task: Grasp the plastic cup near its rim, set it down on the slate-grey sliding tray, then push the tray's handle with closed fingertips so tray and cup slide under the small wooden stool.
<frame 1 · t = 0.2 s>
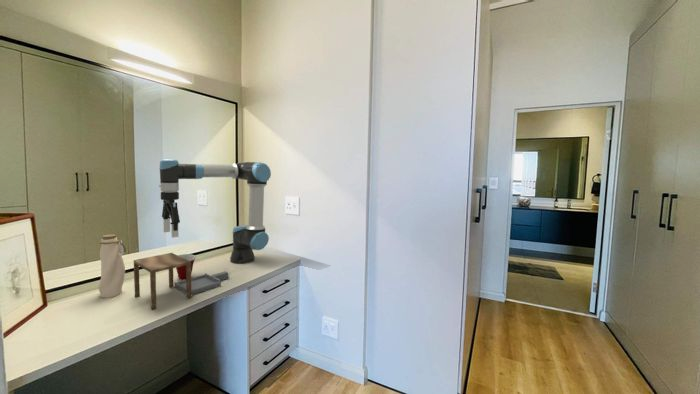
hand: (170, 234, 141), 27 cm above the table, fingers open, 13 cm apart
water bottle: (113, 293, 136), on the table
plastic cup: (185, 278, 157), on the table
tray: (205, 280, 150), point 2 cm above the table, slide at 0.0 cm
small wooden stool: (163, 297, 134), on the table
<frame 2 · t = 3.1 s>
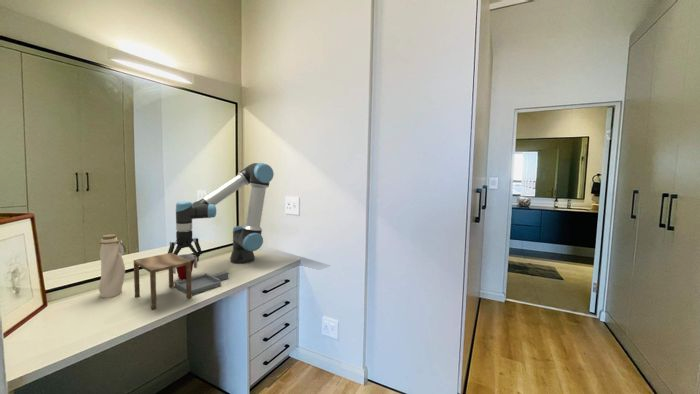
hand: (184, 270, 157), 4 cm above the table, fingers closed on plastic cup, 11 cm apart
plastic cup: (185, 278, 157), on the table, touching gripper
everything else where it was.
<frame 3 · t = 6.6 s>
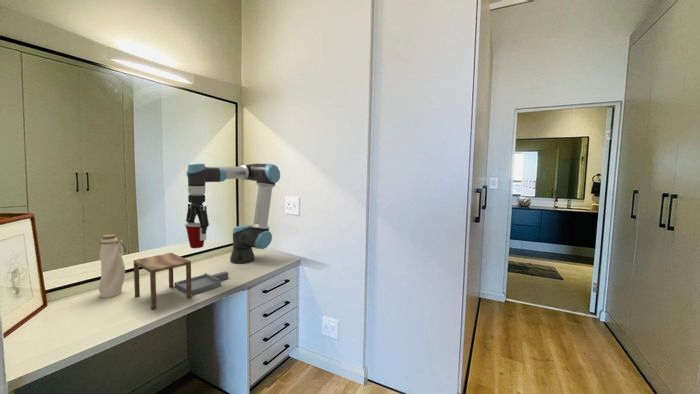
hand: (197, 238, 145), 25 cm above the table, fingers closed on plastic cup, 10 cm apart
plastic cup: (197, 247, 145), point 21 cm above the table, touching gripper
everything else where it was.
when the fingers open (7 cm above the table, at t = 9.9 s): plastic cup drops 1 cm, resting on tray.
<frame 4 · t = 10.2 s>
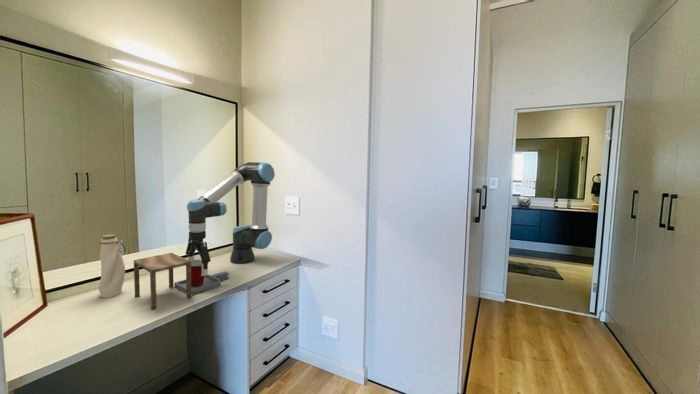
hand: (197, 271, 146), 8 cm above the table, fingers open, 13 cm apart
plastic cup: (197, 284, 147), point 1 cm above the table, touching tray
tray: (205, 280, 150), point 2 cm above the table, slide at 0.0 cm, touching plastic cup
everything else where it was.
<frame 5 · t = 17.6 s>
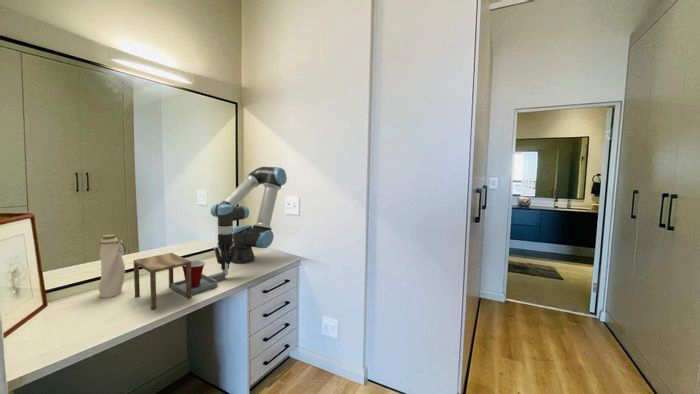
hand: (225, 275, 159), 2 cm above the table, fingers closed
plastic cup: (193, 285, 146), point 1 cm above the table, touching tray
tray: (202, 281, 149), point 2 cm above the table, slide at 1.7 cm, touching gripper, plastic cup
everything else where it was.
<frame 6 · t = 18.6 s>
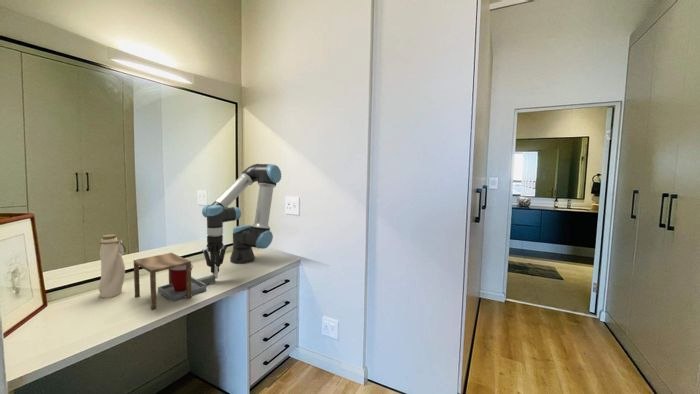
hand: (215, 278, 154), 2 cm above the table, fingers closed
plastic cup: (181, 289, 141), point 1 cm above the table, touching tray
tray: (190, 285, 144), point 2 cm above the table, slide at 7.5 cm, touching gripper, plastic cup
everything else where it was.
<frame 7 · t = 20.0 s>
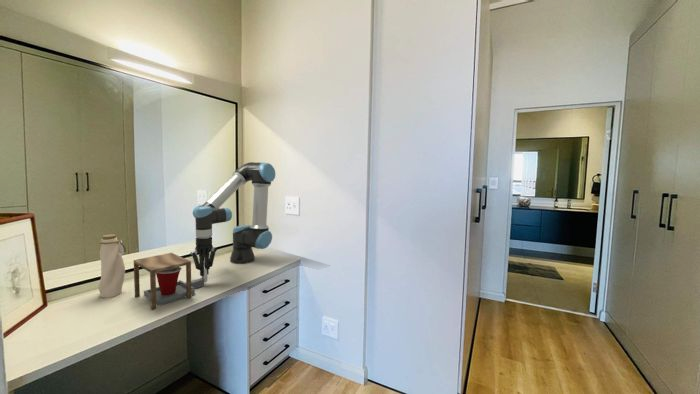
hand: (204, 281, 150), 2 cm above the table, fingers closed
plastic cup: (168, 293, 136), point 1 cm above the table, touching tray
tray: (178, 288, 139), point 2 cm above the table, slide at 13.2 cm, touching gripper, plastic cup
everything else where it was.
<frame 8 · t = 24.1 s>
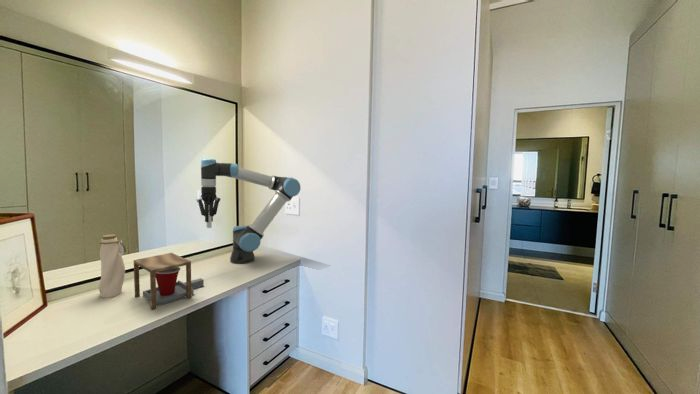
hand: (209, 227, 165), 26 cm above the table, fingers closed
tray: (177, 289, 139), point 2 cm above the table, slide at 13.7 cm, touching plastic cup
everything else where it was.
at the end: tray slide at 13.7 cm; plastic cup inside the target area on the small wooden stool (2.3 cm from its centre), point 0.8 cm above the small wooden stool's base; plastic cup tilted 0° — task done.
